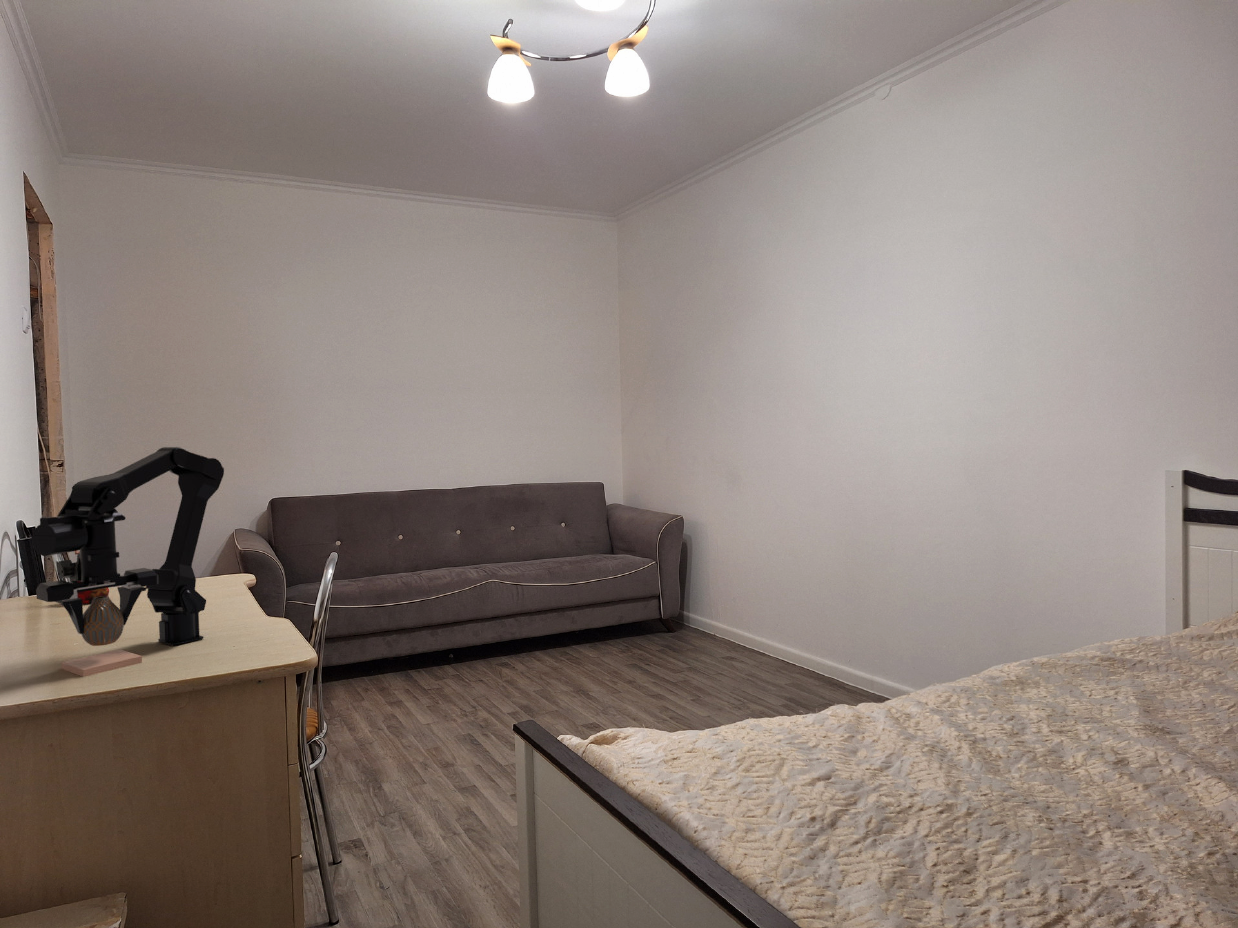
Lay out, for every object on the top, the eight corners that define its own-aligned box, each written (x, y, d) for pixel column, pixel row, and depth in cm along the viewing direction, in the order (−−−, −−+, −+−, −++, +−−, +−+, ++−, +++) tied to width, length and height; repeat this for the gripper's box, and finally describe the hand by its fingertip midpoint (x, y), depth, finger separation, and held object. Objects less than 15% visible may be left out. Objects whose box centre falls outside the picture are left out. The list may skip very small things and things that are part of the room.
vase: (132, 637, 153) (130, 593, 153) (110, 647, 147) (108, 600, 146) (95, 638, 153) (93, 593, 153) (72, 648, 146) (70, 601, 146)
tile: (119, 649, 157) (141, 655, 152) (119, 656, 157) (142, 663, 152) (61, 662, 148) (83, 669, 143) (61, 670, 149) (83, 678, 144)
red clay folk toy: (88, 605, 201) (85, 547, 201) (67, 604, 203) (65, 546, 203) (115, 599, 209) (113, 542, 208) (95, 598, 211) (92, 541, 210)
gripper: (131, 537, 161) (135, 613, 162) (22, 550, 146) (27, 634, 147) (158, 541, 155) (161, 620, 156) (46, 556, 140) (51, 643, 140)
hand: (102, 629), depth 150 cm, fingers closed on vase, 7 cm apart
